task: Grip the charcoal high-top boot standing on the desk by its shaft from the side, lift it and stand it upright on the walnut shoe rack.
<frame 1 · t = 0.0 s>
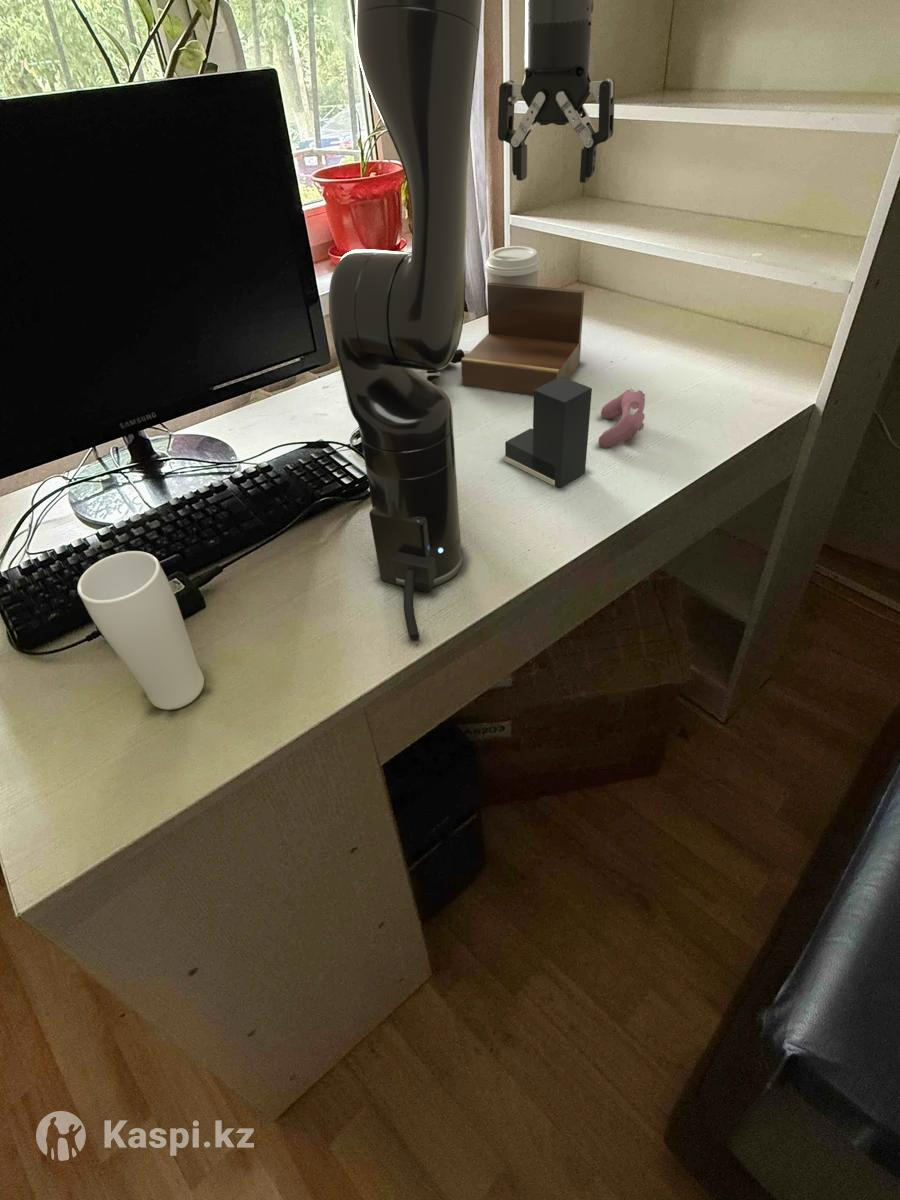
hand: (552, 180, 89), 29 cm above the table, tool pointing down, fingers open, 8 cm apart
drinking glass: (179, 692, 67), on the table
shoe rack: (521, 374, 114), on the table
robot toy: (422, 376, 116), on the table
boot: (558, 473, 91), on the table
coffee cup: (513, 343, 124), on the table
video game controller: (619, 434, 98), on the table
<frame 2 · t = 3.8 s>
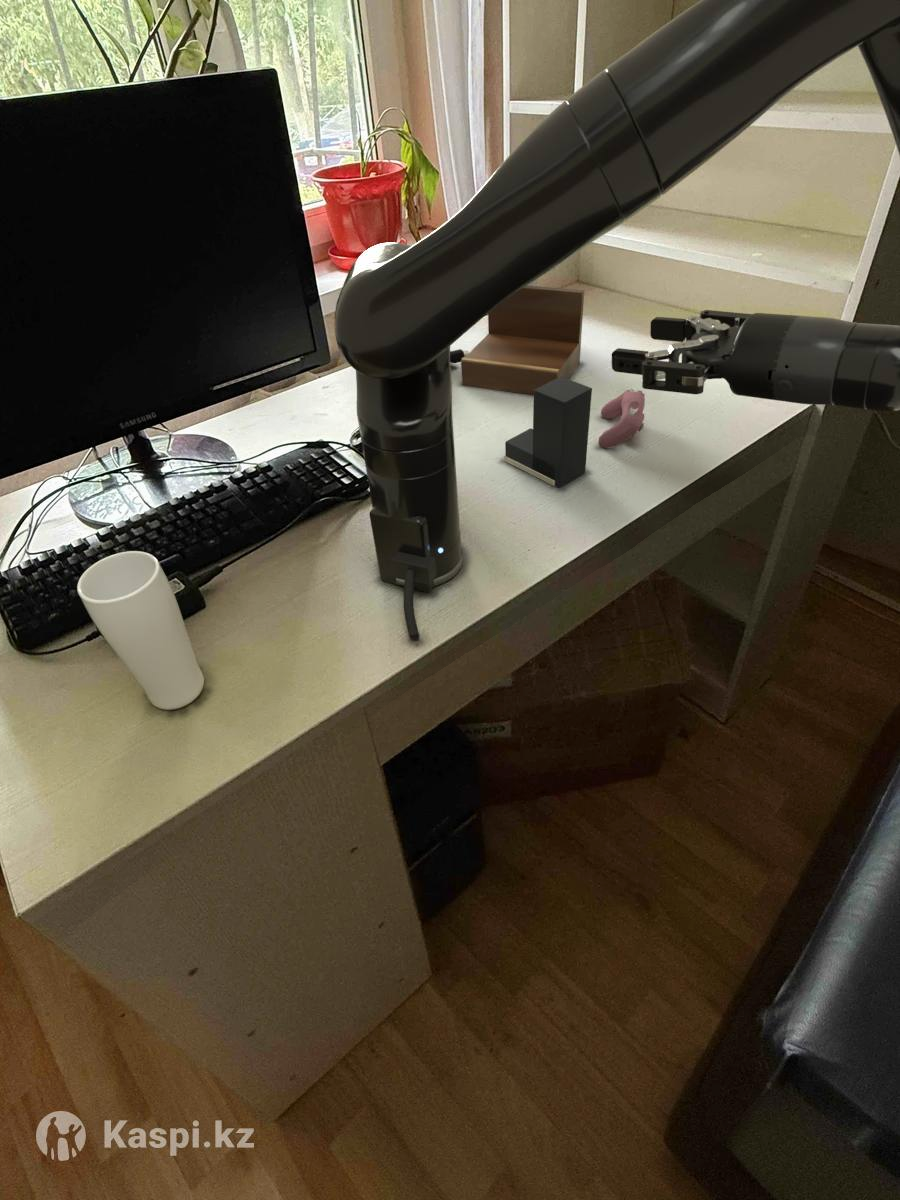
hand: (633, 343, 73), 20 cm above the table, tool horizontal, fingers open, 8 cm apart
nothing on the table moved.
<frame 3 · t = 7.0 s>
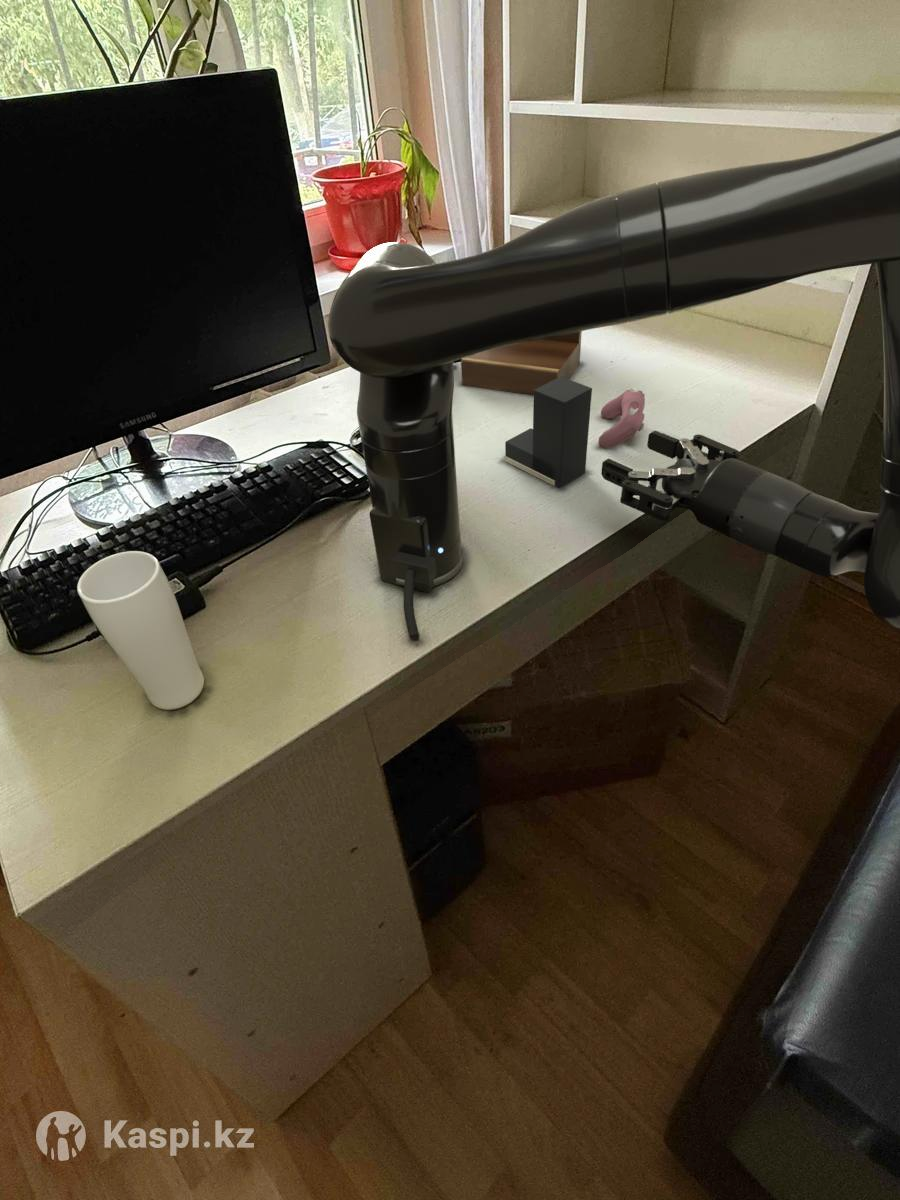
hand: (627, 452, 80), 7 cm above the table, tool horizontal, fingers open, 8 cm apart
nothing on the table moved.
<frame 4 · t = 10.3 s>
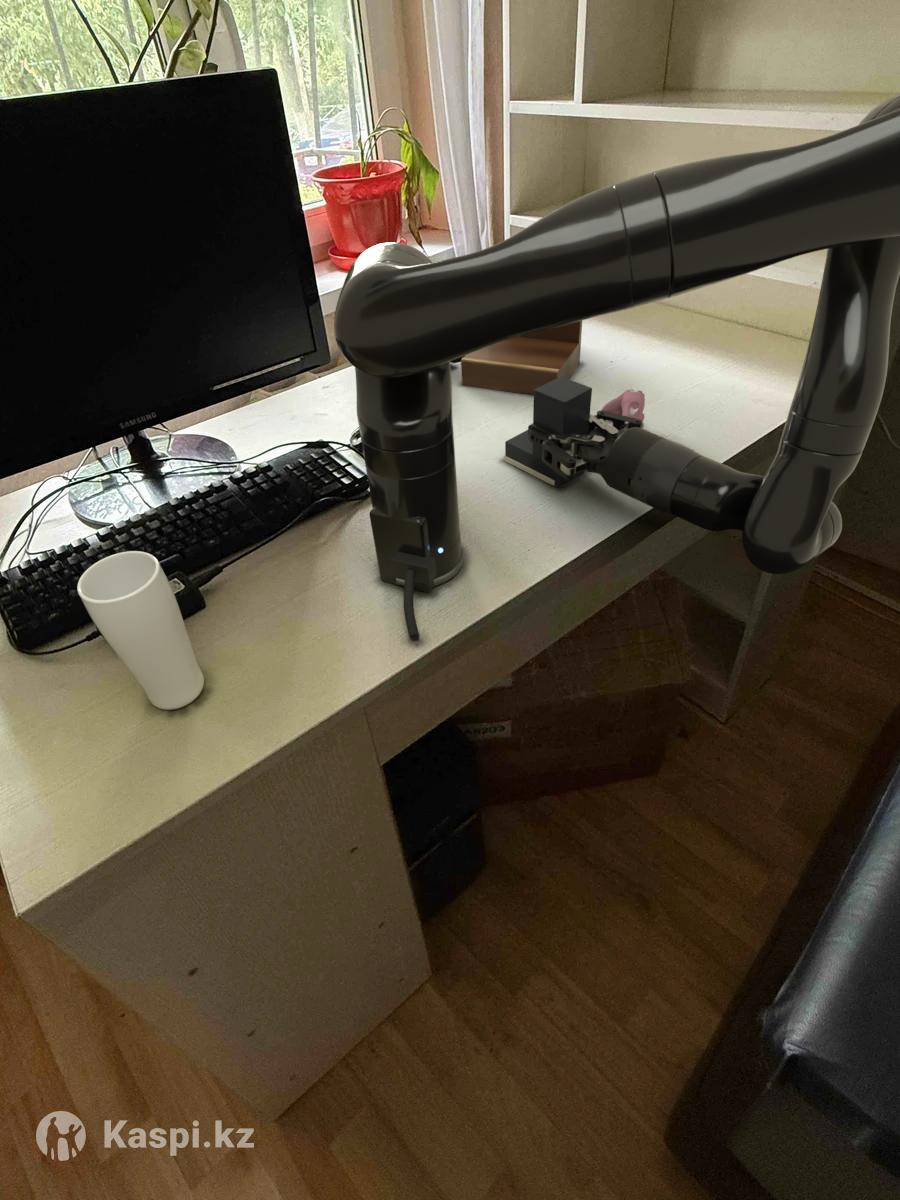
hand: (545, 423, 88), 7 cm above the table, tool horizontal, fingers closed on boot, 5 cm apart
boot: (558, 473, 91), on the table, touching gripper
everything else where it was.
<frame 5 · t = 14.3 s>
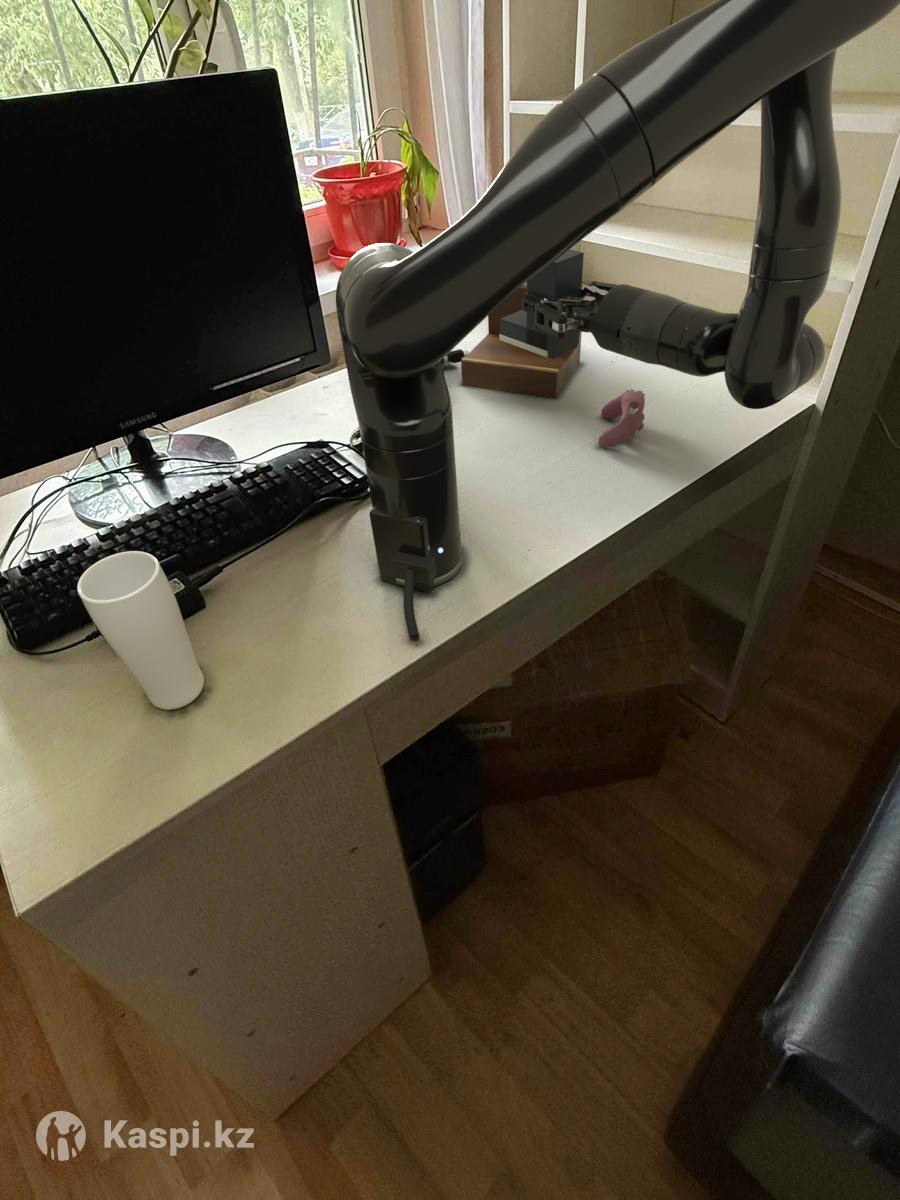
hand: (538, 294, 90), 18 cm above the table, tool horizontal, fingers closed on boot, 5 cm apart
boot: (551, 348, 93), point 11 cm above the table, touching gripper
everything else where it was.
when the fingers open (11 cm above the table, at t = 18.7 s): boot stays where it is, resting on shoe rack.
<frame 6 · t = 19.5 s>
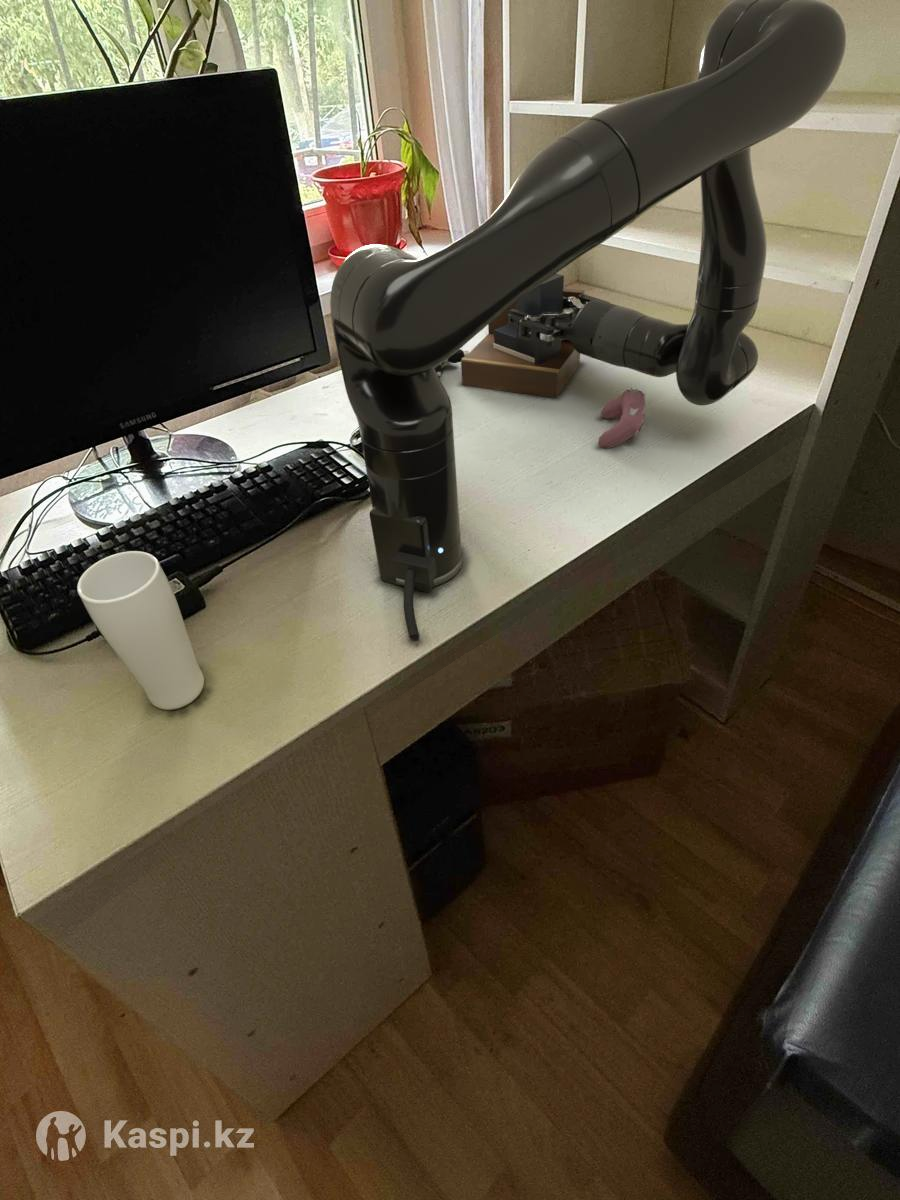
hand: (529, 308, 106), 11 cm above the table, tool horizontal, fingers open, 8 cm apart
boot: (538, 355, 109), point 4 cm above the table, touching shoe rack
everything else where it was.
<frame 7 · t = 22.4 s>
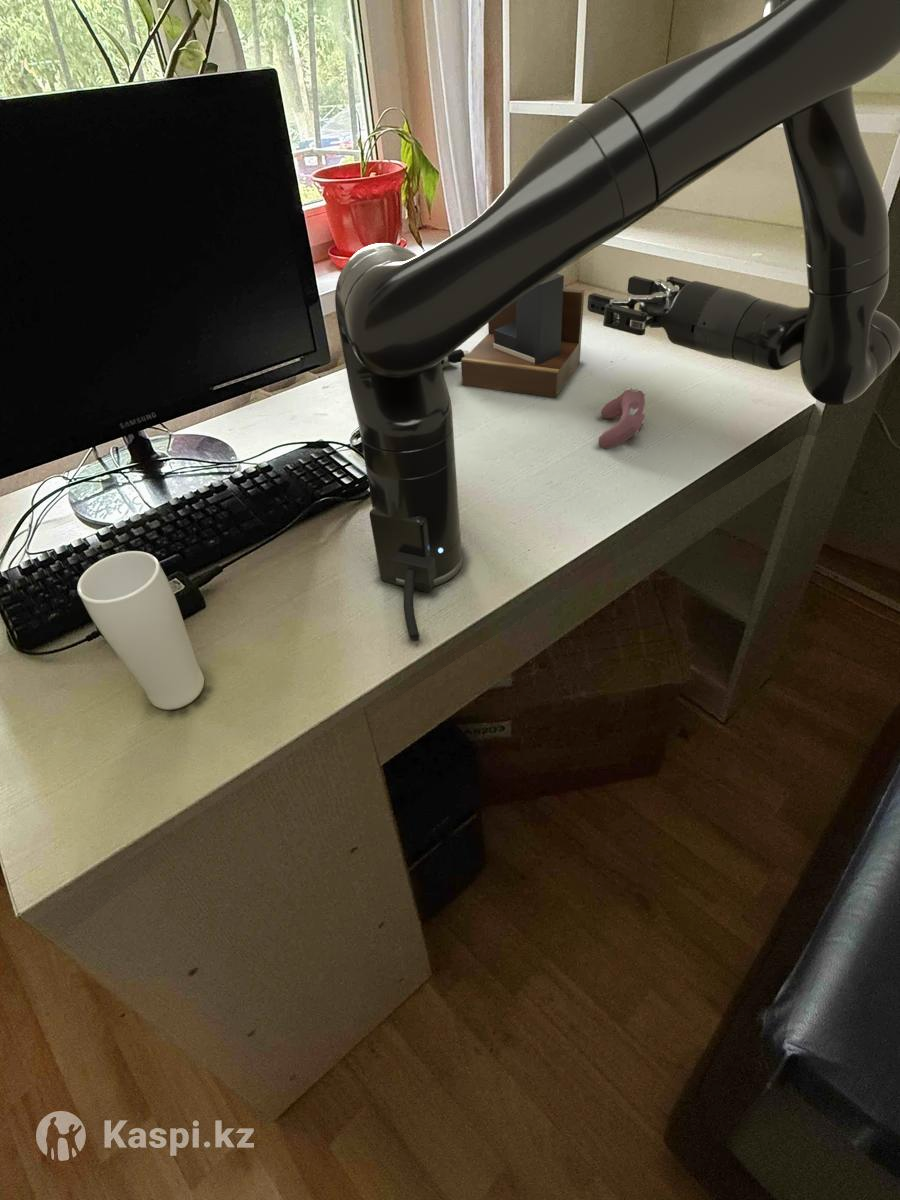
hand: (609, 292, 93), 17 cm above the table, tool horizontal, fingers open, 8 cm apart
nothing on the table moved.
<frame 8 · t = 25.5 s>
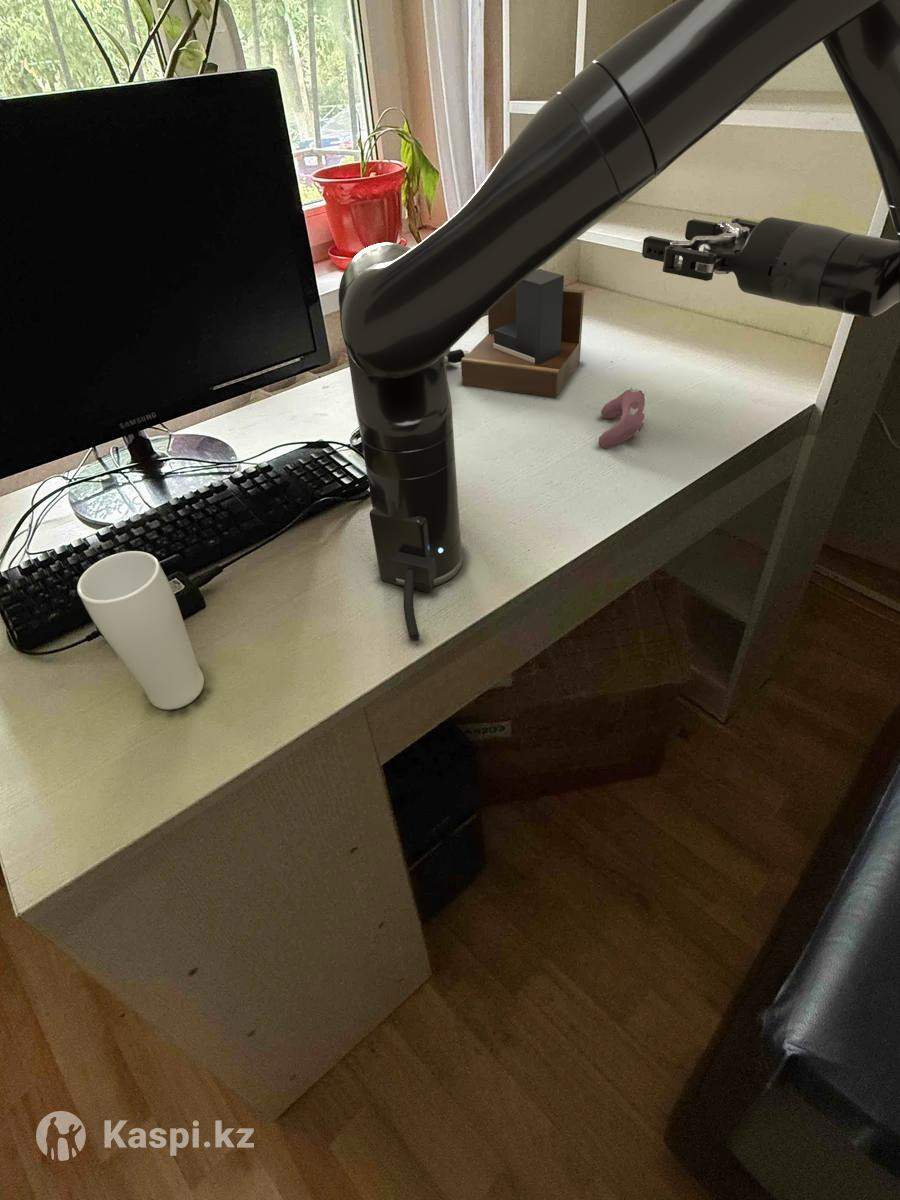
hand: (666, 237, 82), 25 cm above the table, tool horizontal, fingers open, 8 cm apart
nothing on the table moved.
at the end: boot inside the target area on the shoe rack (3.2 cm from its centre), point 4.0 cm above the shoe rack's base; boot tilted 0°; the gripper is holding nothing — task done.
